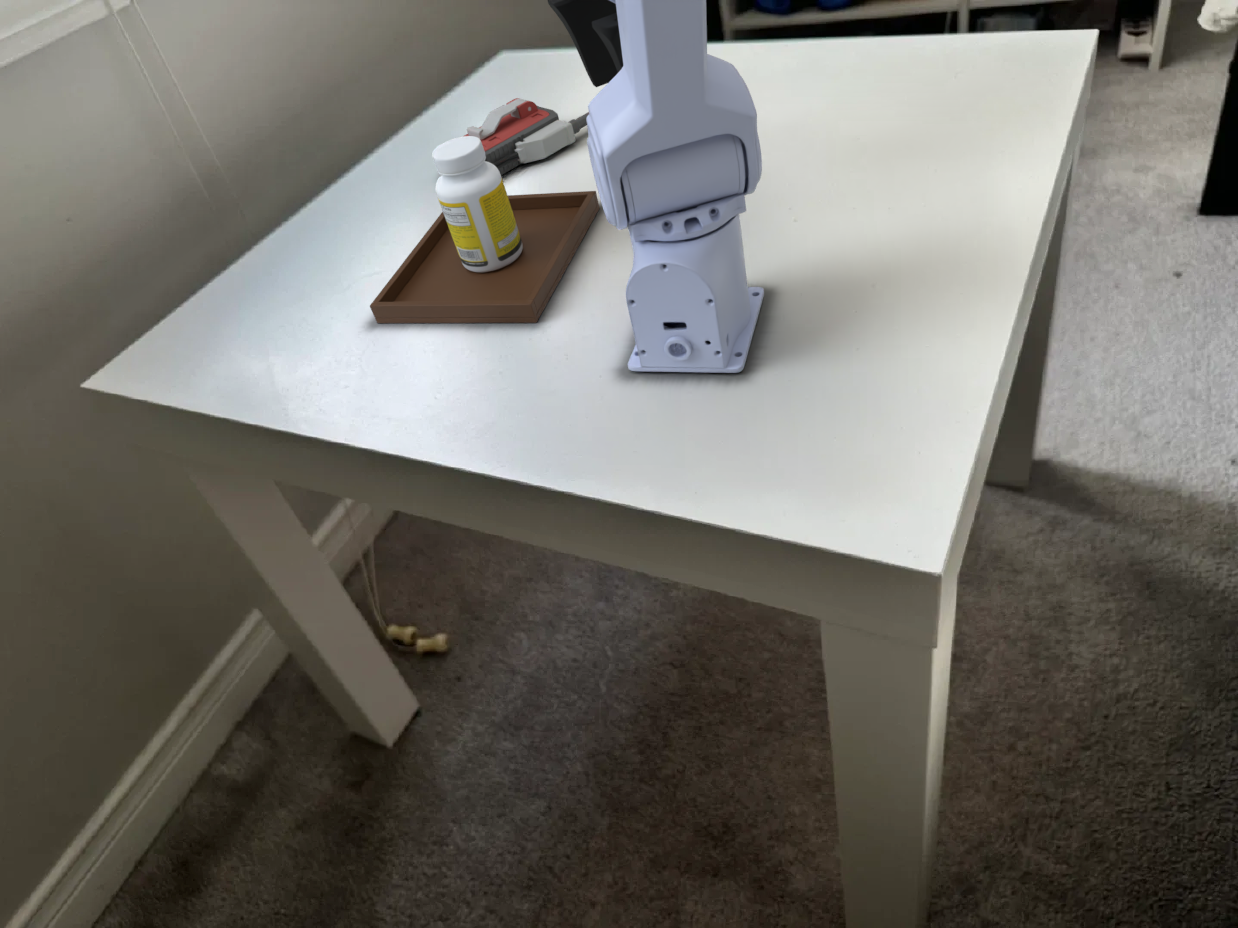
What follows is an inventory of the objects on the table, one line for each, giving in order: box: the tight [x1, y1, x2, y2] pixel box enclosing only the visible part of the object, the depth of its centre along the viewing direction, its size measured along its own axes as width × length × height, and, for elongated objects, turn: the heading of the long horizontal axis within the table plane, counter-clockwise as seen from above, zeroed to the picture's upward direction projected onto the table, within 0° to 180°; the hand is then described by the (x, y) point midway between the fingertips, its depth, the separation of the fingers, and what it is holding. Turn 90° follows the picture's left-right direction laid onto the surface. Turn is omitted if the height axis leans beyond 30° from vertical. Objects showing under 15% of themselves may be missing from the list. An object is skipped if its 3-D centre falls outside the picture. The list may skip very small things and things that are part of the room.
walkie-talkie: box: [461, 97, 589, 176], centre depth 91 cm, size 9×4×20 cm
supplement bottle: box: [431, 135, 523, 272], centre depth 73 cm, size 5×5×10 cm
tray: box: [369, 190, 600, 324], centre depth 76 cm, size 17×14×2 cm
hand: (625, 95), depth 70 cm, fingers open, 7 cm apart
